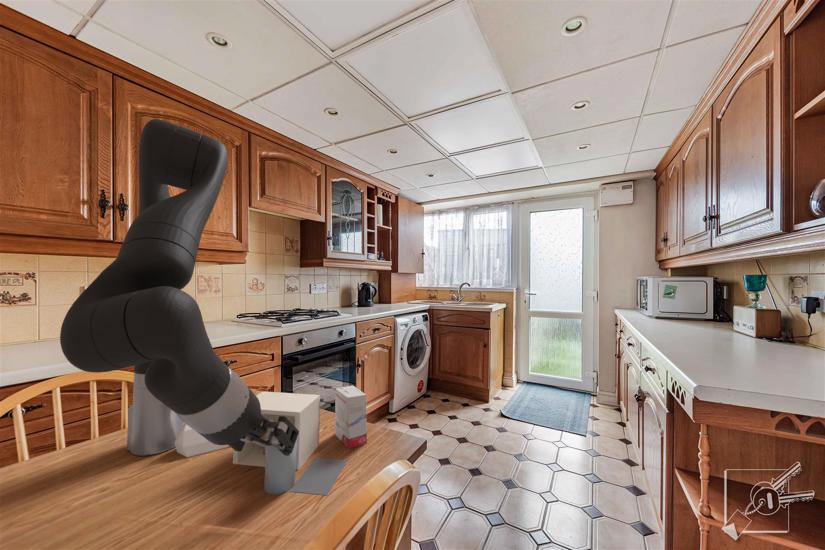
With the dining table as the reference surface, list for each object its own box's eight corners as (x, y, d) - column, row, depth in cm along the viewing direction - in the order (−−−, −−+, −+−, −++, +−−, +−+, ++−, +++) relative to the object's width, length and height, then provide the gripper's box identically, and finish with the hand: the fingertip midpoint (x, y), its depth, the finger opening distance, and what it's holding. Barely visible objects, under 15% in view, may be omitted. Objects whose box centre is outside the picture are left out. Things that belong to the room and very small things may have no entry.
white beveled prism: (284, 406, 87) (174, 428, 73) (291, 399, 83) (175, 422, 68) (287, 435, 84) (173, 464, 70) (294, 430, 79) (174, 460, 65)
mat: (289, 494, 57) (289, 491, 57) (315, 460, 68) (315, 457, 68) (327, 498, 56) (327, 495, 56) (347, 463, 67) (347, 460, 67)
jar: (257, 495, 56) (260, 434, 57) (274, 478, 61) (276, 422, 62) (285, 499, 56) (288, 437, 56) (299, 481, 61) (302, 424, 61)
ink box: (367, 446, 74) (368, 394, 75) (346, 452, 72) (348, 398, 72) (352, 431, 82) (353, 384, 82) (333, 436, 79) (334, 387, 79)
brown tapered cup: (259, 454, 69) (260, 435, 69) (268, 447, 72) (268, 429, 72) (273, 455, 68) (274, 436, 68) (281, 448, 71) (282, 430, 71)
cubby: (232, 466, 65) (234, 407, 65) (261, 442, 75) (263, 391, 75) (298, 472, 63) (300, 412, 64) (318, 447, 73) (320, 395, 74)
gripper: (280, 380, 45) (313, 427, 56) (187, 374, 46) (237, 421, 57) (256, 437, 39) (298, 476, 50) (151, 428, 41) (214, 468, 52)
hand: (265, 447), depth 54 cm, fingers open, 8 cm apart
